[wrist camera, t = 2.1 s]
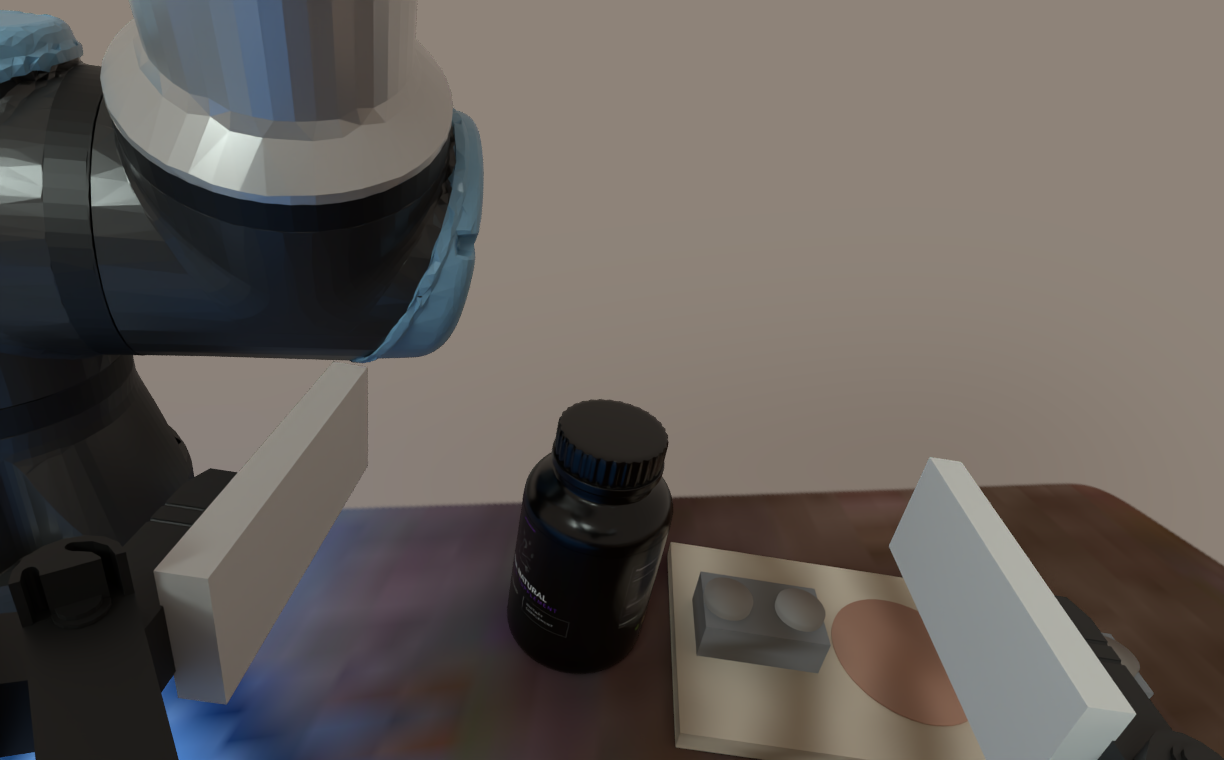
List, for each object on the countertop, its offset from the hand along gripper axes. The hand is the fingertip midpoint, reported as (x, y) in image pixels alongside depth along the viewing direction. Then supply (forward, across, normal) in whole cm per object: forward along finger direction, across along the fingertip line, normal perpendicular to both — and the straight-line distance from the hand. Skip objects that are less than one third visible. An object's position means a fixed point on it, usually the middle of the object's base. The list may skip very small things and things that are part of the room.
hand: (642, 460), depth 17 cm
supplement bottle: (+12, 0, -19) cm, 22 cm away
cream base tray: (+12, +17, -18) cm, 28 cm away
